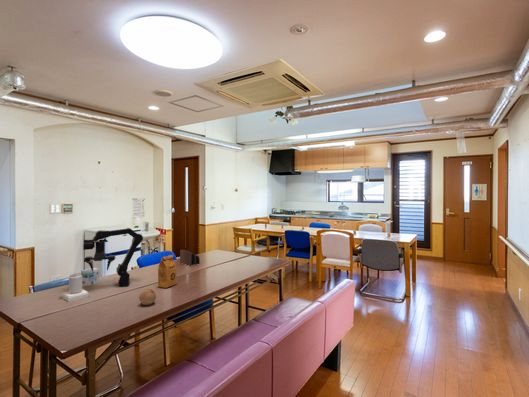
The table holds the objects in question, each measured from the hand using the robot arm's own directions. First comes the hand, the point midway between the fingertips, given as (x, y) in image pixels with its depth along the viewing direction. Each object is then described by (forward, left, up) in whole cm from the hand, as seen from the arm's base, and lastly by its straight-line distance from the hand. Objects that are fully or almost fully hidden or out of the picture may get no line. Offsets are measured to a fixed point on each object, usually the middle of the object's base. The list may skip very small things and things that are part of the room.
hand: (100, 270), depth 210 cm
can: (+12, +13, -10) cm, 20 cm away
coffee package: (-45, +8, -13) cm, 48 cm away
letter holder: (-66, -60, -14) cm, 90 cm away
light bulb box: (+10, -18, -13) cm, 25 cm away
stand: (+12, +13, -13) cm, 22 cm away
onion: (-33, +42, -13) cm, 55 cm away
